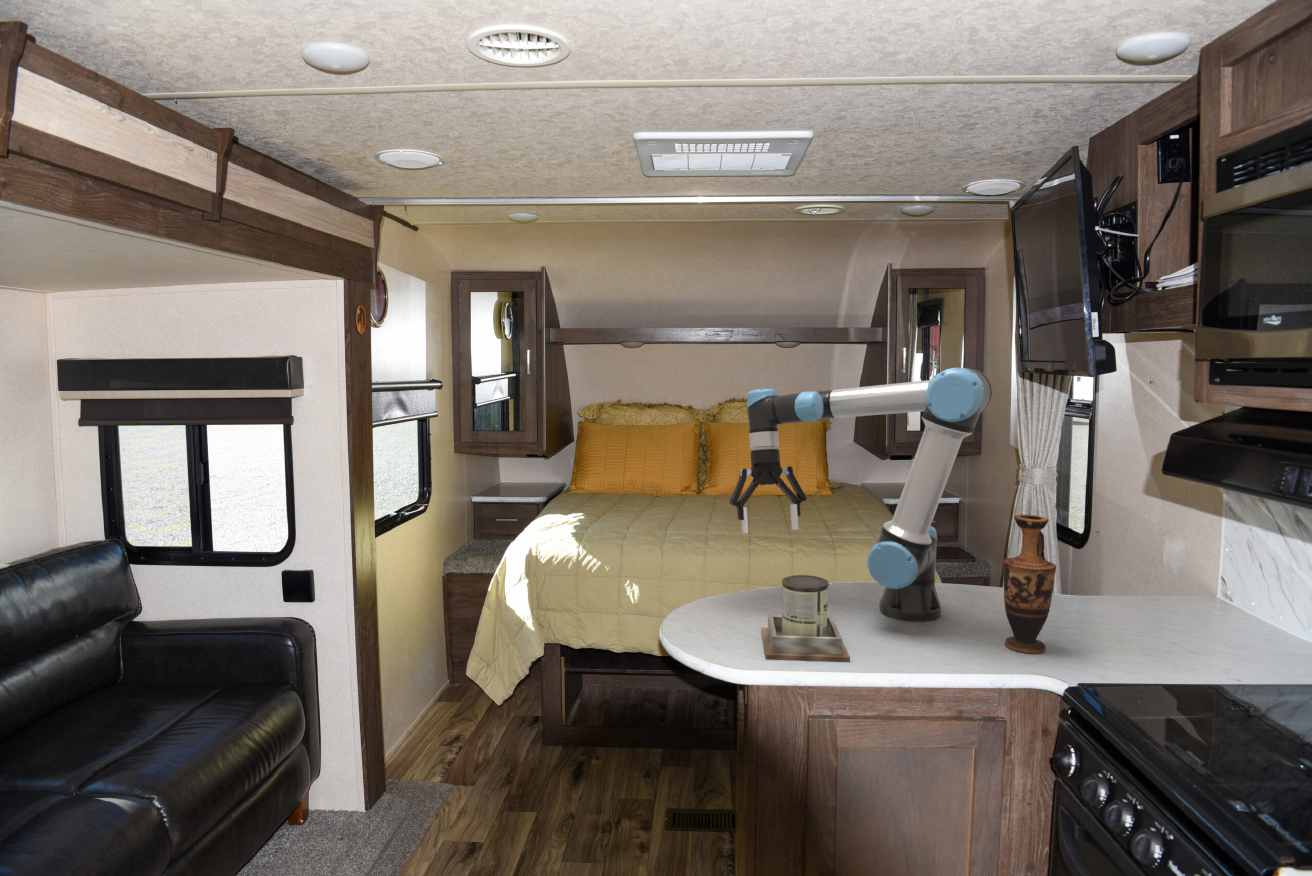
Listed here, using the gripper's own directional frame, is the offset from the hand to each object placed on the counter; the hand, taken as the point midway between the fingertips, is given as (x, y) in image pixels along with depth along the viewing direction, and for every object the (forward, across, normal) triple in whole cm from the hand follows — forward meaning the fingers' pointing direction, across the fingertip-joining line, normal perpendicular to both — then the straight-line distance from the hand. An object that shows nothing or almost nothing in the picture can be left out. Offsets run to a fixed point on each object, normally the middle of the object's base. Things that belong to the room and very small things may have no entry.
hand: (770, 531), depth 209 cm
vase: (+29, -46, +34) cm, 64 cm away
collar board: (+25, +2, +23) cm, 34 cm away
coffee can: (+24, +2, +24) cm, 34 cm away
